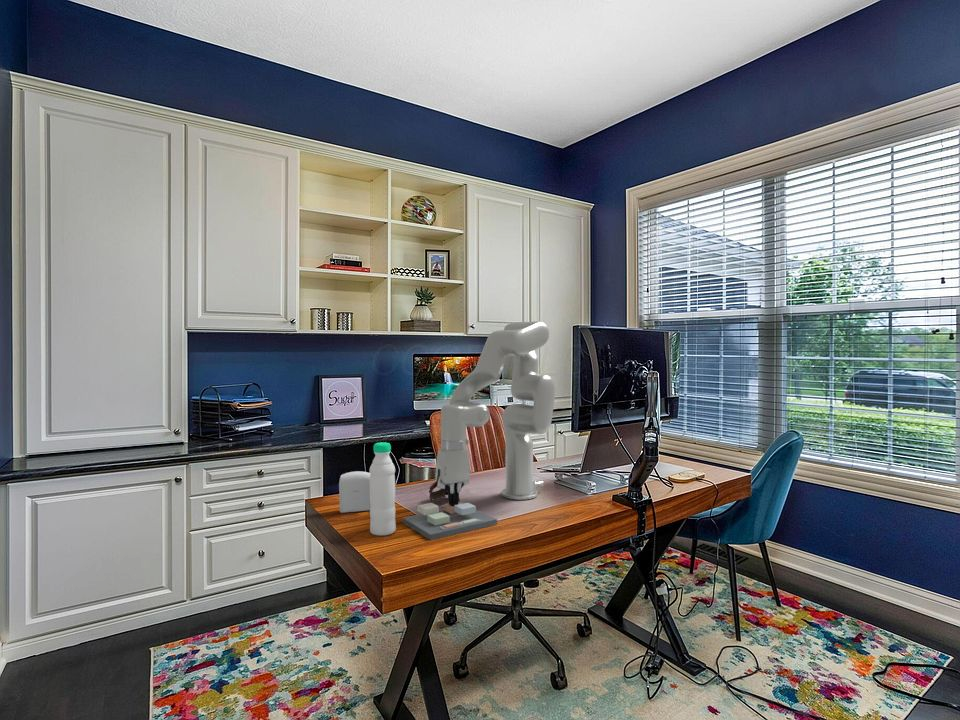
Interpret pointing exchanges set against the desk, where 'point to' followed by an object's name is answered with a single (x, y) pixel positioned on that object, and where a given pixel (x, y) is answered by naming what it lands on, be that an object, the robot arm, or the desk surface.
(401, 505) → the desk surface
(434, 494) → the brown arched ornament
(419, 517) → the keypad
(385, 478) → the water bottle
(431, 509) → the cream key
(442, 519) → the sage key
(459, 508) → the blue key
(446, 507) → the terracotta key
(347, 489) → the photo printer
